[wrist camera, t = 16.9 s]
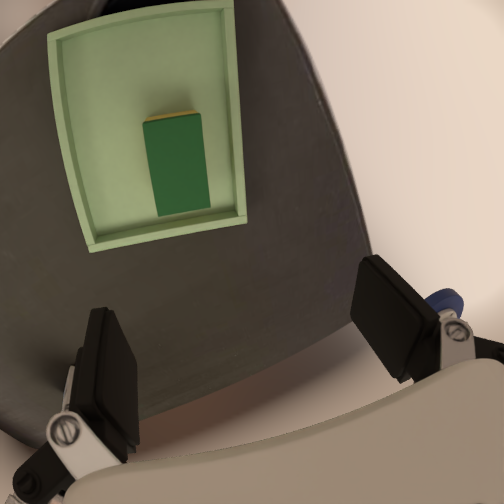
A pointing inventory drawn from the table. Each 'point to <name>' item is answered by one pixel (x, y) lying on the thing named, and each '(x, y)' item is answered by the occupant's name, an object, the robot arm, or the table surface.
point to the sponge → (177, 162)
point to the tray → (146, 115)
